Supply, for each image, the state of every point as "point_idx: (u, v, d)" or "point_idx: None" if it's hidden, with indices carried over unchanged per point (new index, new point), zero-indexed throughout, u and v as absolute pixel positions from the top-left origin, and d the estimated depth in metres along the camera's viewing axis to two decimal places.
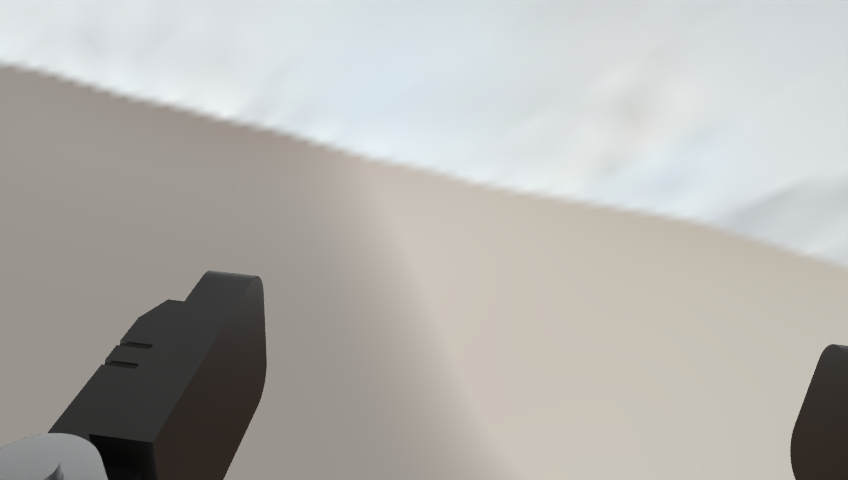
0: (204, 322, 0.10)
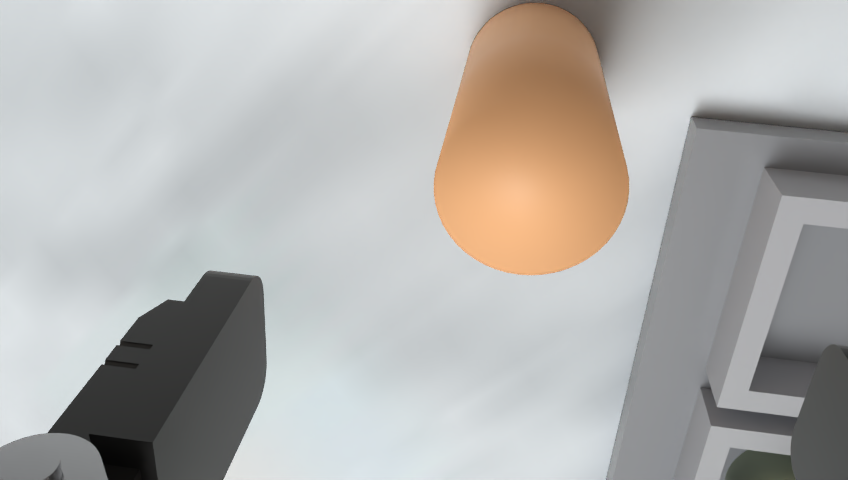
0: (204, 322, 0.10)
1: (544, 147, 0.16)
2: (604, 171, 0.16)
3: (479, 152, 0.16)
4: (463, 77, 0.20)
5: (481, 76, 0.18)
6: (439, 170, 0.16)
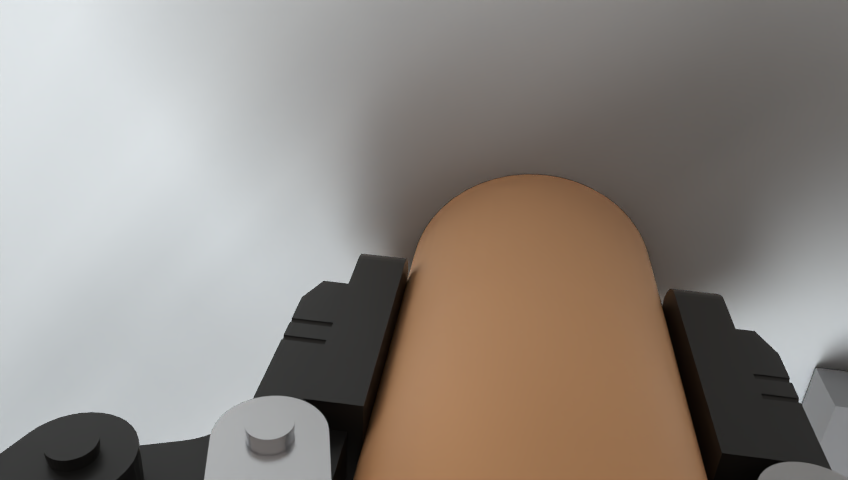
0: (374, 300, 0.11)
1: None
2: None
3: None
4: (382, 382, 0.10)
5: (402, 479, 0.07)
6: None
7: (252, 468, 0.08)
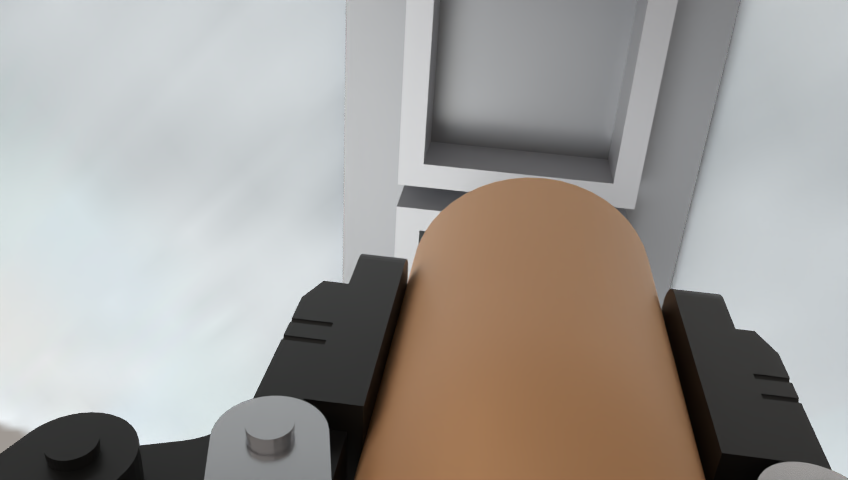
0: (374, 300, 0.11)
1: None
2: None
3: None
4: (382, 385, 0.10)
5: None
6: None
7: (252, 468, 0.08)
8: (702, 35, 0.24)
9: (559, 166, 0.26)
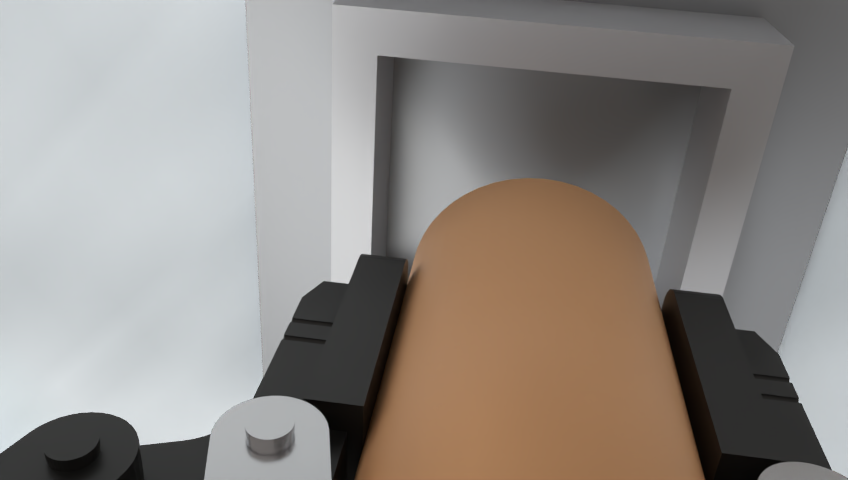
0: (374, 300, 0.11)
1: None
2: None
3: None
4: (382, 386, 0.10)
5: None
6: None
7: (252, 468, 0.08)
8: (799, 149, 0.16)
9: None
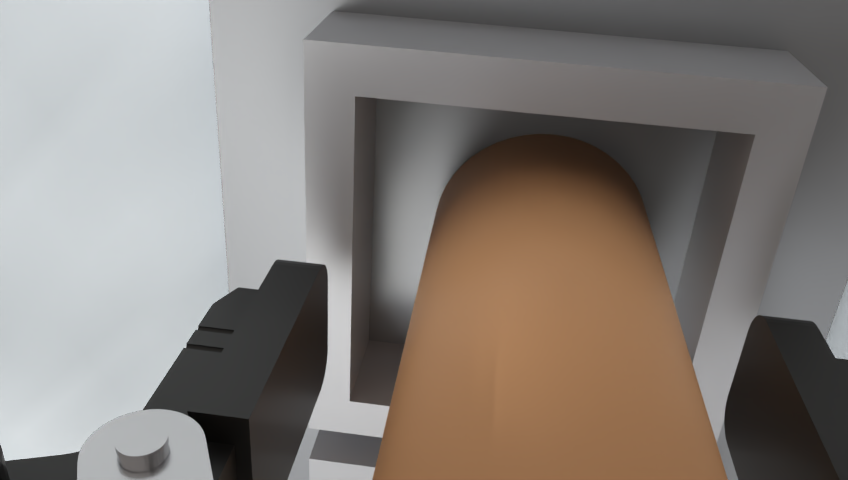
0: (280, 308, 0.10)
1: None
2: None
3: None
4: (419, 299, 0.11)
5: (446, 355, 0.09)
6: None
7: None
8: (826, 194, 0.14)
9: None
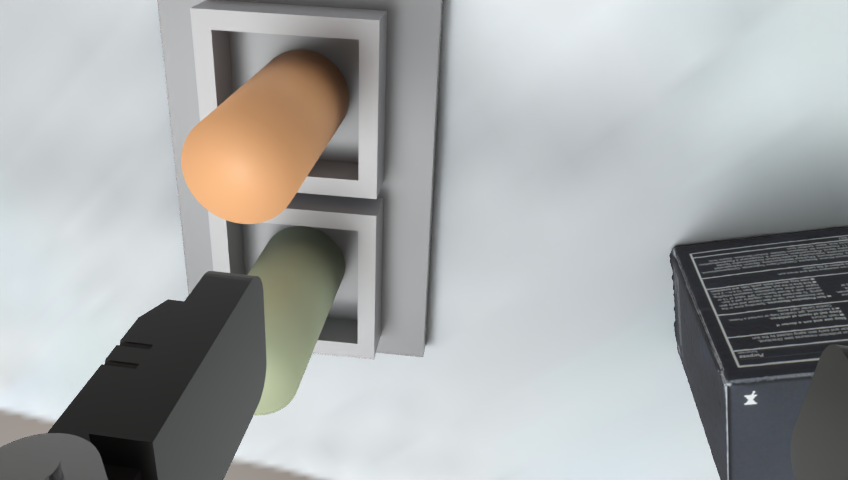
0: (204, 322, 0.10)
1: (242, 142, 0.26)
2: (280, 156, 0.26)
3: (204, 146, 0.26)
4: None
5: None
6: (183, 158, 0.27)
7: None
8: (417, 71, 0.34)
9: (325, 169, 0.35)
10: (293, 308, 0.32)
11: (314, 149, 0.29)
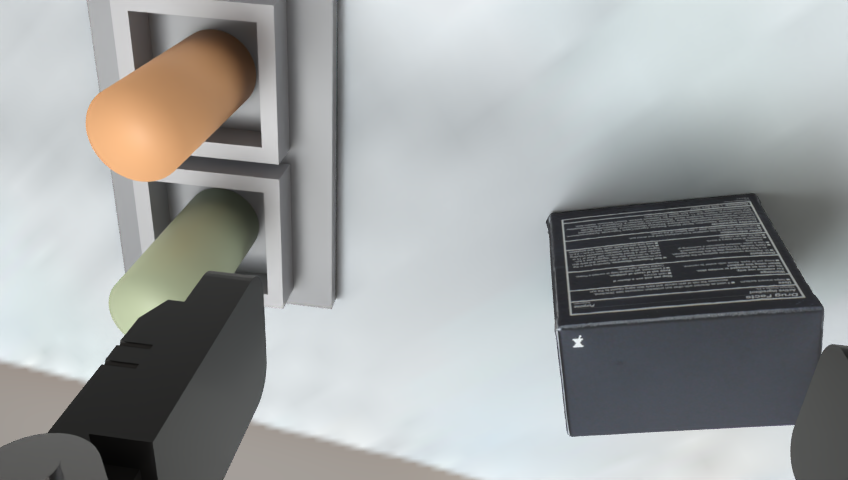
0: (204, 322, 0.10)
1: (136, 110, 0.30)
2: (169, 123, 0.30)
3: (105, 113, 0.31)
4: None
5: None
6: (87, 123, 0.31)
7: None
8: (314, 51, 0.38)
9: (235, 137, 0.39)
10: (196, 258, 0.36)
11: (207, 118, 0.33)
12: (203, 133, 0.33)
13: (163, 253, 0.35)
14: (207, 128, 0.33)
